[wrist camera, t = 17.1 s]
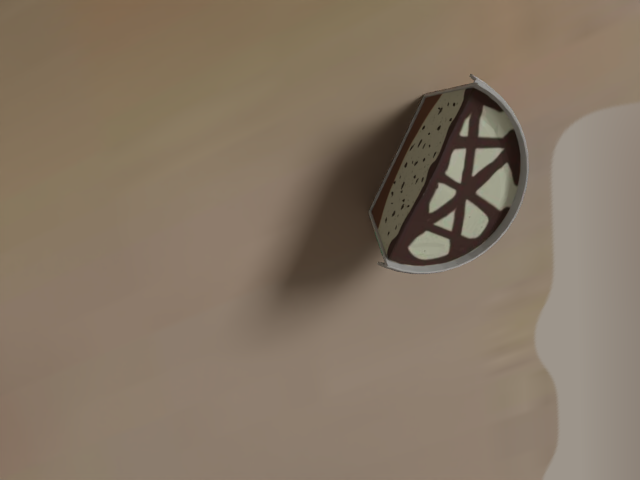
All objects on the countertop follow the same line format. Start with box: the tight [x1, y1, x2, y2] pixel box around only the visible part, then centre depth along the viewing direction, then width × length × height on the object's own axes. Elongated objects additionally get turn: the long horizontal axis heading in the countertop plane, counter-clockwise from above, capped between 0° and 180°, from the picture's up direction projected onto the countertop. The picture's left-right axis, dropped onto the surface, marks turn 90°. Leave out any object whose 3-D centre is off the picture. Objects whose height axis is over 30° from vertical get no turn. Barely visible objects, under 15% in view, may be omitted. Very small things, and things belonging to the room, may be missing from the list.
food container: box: [368, 74, 529, 274], centre depth 38 cm, size 12×6×10 cm, turn 156°
